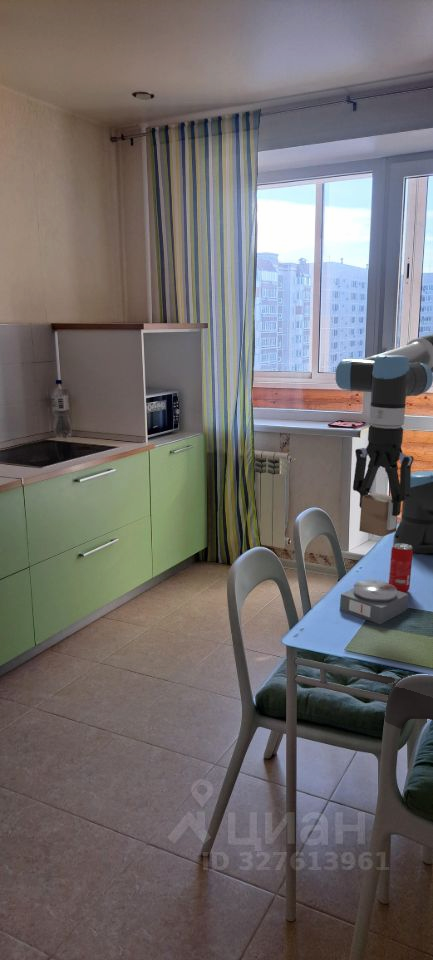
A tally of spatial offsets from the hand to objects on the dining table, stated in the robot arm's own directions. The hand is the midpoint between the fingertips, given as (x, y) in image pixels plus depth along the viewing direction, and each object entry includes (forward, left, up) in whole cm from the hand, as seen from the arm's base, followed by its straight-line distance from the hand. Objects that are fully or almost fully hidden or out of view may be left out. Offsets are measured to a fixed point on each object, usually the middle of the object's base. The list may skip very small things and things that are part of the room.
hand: (378, 525), depth 161 cm
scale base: (-1, 0, -21) cm, 21 cm away
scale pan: (-1, 0, -17) cm, 17 cm away
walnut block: (0, 0, -1) cm, 1 cm away
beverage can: (-16, -2, -21) cm, 27 cm away
